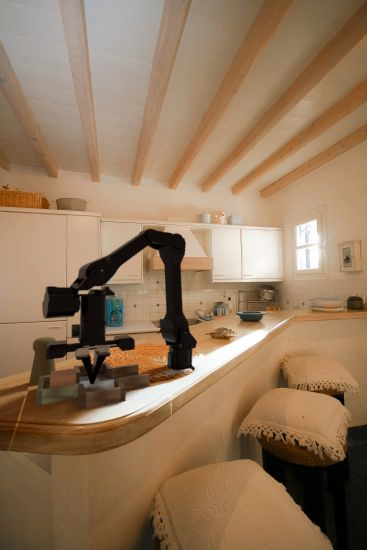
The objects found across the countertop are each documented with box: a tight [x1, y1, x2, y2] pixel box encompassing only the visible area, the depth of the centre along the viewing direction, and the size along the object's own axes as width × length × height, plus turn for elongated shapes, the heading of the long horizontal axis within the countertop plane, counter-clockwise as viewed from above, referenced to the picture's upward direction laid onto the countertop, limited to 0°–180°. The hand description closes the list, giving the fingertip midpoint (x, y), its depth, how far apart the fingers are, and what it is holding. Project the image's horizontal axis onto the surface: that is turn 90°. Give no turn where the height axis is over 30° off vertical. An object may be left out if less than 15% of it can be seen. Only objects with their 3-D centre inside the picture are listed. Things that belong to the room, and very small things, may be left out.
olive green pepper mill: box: [28, 336, 57, 387], centre depth 62 cm, size 6×6×11 cm
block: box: [50, 367, 76, 388], centre depth 54 cm, size 5×5×4 cm
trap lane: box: [35, 361, 151, 410], centre depth 57 cm, size 23×21×3 cm
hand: (91, 383), depth 57 cm, fingers closed
